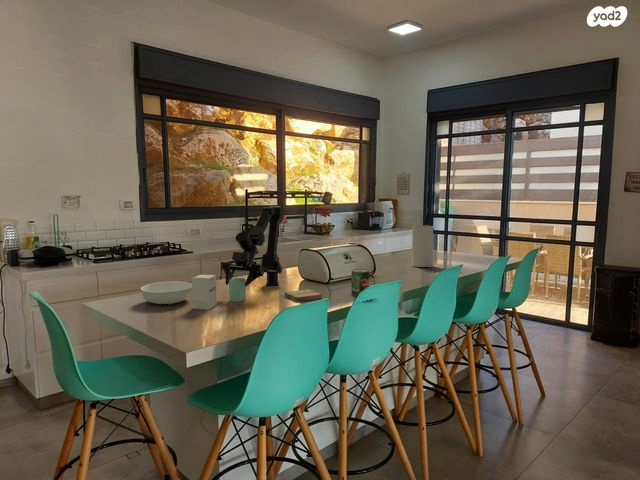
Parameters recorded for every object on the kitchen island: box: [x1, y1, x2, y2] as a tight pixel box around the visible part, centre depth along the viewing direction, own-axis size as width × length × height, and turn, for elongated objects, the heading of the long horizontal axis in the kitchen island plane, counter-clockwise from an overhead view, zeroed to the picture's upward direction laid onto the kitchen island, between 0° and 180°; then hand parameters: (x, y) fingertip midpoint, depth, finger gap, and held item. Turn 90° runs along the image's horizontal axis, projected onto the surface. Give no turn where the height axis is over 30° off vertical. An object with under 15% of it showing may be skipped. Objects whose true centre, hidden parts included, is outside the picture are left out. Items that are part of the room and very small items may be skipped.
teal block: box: [228, 277, 247, 303], centre depth 191 cm, size 5×5×9 cm
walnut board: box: [284, 288, 323, 303], centre depth 196 cm, size 12×12×2 cm
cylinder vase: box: [411, 224, 434, 268], centre depth 276 cm, size 12×12×25 cm
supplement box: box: [191, 274, 217, 311], centre depth 179 cm, size 7×7×13 cm
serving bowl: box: [140, 280, 192, 305], centre depth 188 cm, size 21×21×7 cm
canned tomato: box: [351, 268, 370, 297], centre depth 201 cm, size 8×8×11 cm
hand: (235, 285), depth 190 cm, fingers open, 9 cm apart
